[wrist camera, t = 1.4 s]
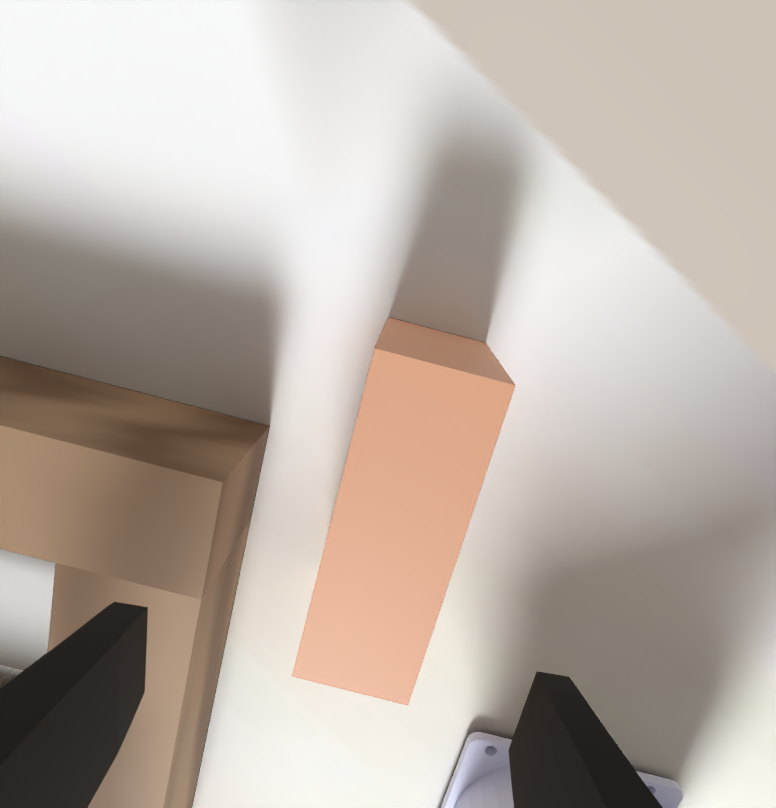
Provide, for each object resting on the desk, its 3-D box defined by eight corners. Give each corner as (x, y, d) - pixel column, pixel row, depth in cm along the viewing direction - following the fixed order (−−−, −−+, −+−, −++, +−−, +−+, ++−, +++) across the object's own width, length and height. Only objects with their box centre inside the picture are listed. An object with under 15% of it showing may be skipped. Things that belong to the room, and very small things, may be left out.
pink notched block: (485, 343, 19) (515, 385, 13) (411, 583, 22) (407, 705, 16) (388, 317, 19) (374, 348, 13) (325, 561, 22) (291, 676, 16)
